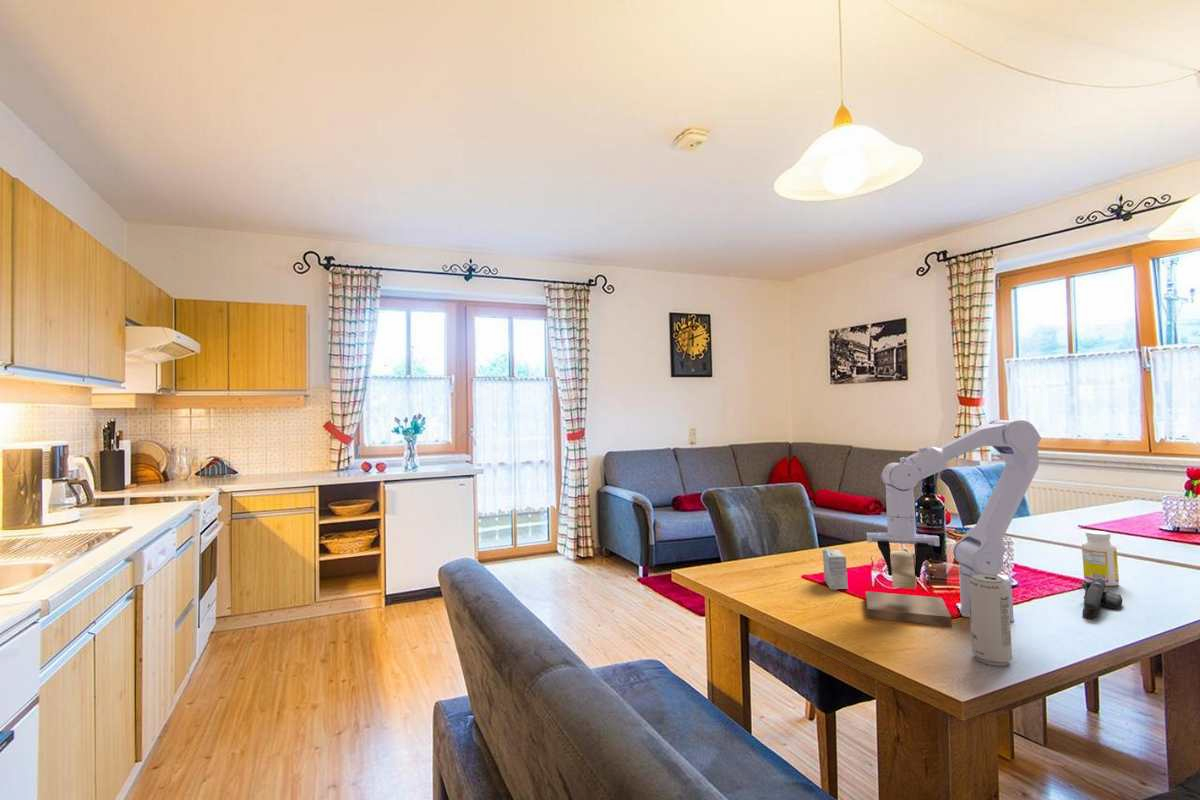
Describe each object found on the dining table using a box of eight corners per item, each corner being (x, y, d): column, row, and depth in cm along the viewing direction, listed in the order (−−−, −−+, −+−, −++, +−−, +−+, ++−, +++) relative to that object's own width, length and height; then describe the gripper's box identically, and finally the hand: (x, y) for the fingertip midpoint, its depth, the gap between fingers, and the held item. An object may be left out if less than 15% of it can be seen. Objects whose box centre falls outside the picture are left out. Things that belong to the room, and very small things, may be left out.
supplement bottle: (1105, 579, 145) (1101, 529, 145) (1126, 586, 138) (1123, 534, 138) (1077, 579, 145) (1074, 529, 146) (1097, 587, 139) (1094, 535, 139)
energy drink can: (975, 650, 106) (971, 570, 107) (1015, 658, 102) (1010, 576, 102) (969, 660, 102) (964, 578, 102) (1009, 670, 98) (1004, 584, 98)
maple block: (916, 583, 128) (914, 553, 128) (915, 589, 124) (913, 557, 124) (894, 581, 130) (892, 551, 130) (892, 586, 126) (890, 555, 127)
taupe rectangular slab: (942, 606, 130) (941, 597, 130) (951, 626, 118) (951, 617, 118) (866, 599, 136) (865, 591, 136) (868, 618, 124) (867, 609, 124)
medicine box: (848, 590, 143) (846, 556, 144) (829, 590, 144) (828, 556, 144) (841, 581, 151) (839, 549, 151) (823, 581, 152) (822, 549, 152)
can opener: (1085, 597, 133) (1084, 573, 133) (1125, 604, 127) (1124, 579, 127) (1066, 616, 122) (1065, 590, 122) (1109, 625, 116) (1107, 597, 116)
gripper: (934, 513, 128) (938, 573, 128) (865, 511, 134) (868, 568, 134) (939, 519, 122) (942, 582, 121) (866, 516, 128) (869, 576, 127)
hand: (903, 575), depth 127 cm, fingers closed on maple block, 5 cm apart
